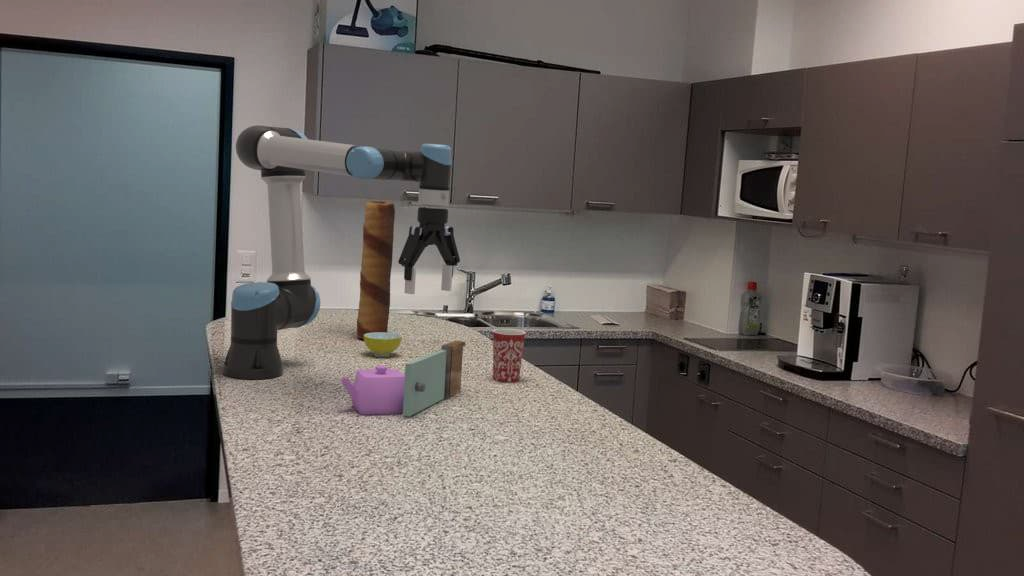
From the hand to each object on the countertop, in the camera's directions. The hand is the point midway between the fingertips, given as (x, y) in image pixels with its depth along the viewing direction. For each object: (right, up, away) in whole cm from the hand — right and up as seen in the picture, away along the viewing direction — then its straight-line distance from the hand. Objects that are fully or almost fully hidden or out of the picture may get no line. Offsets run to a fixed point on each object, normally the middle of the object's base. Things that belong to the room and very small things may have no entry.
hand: (428, 292), depth 231 cm
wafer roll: (-25, -16, +72) cm, 77 cm away
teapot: (-10, -27, -18) cm, 34 cm away
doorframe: (+5, -26, 0) cm, 26 cm away
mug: (+19, -24, +24) cm, 39 cm away
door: (+1, -27, -15) cm, 31 cm away
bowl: (-18, -19, +45) cm, 52 cm away
